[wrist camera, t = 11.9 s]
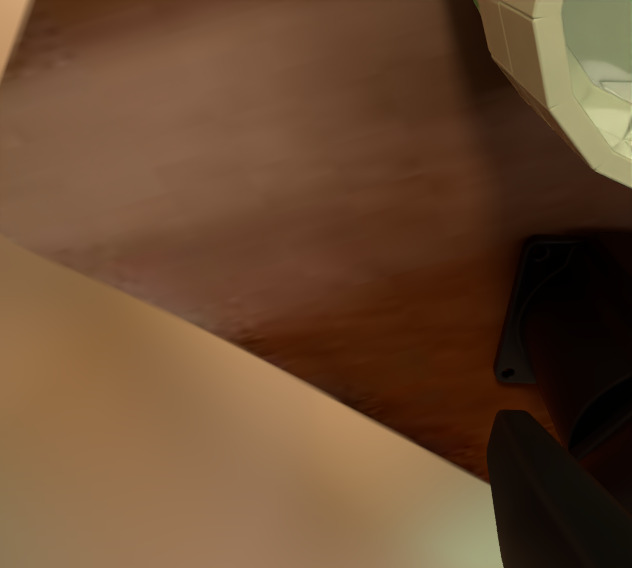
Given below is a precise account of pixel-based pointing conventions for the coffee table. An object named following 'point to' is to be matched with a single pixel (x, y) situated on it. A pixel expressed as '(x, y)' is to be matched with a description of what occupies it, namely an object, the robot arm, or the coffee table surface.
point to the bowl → (571, 71)
